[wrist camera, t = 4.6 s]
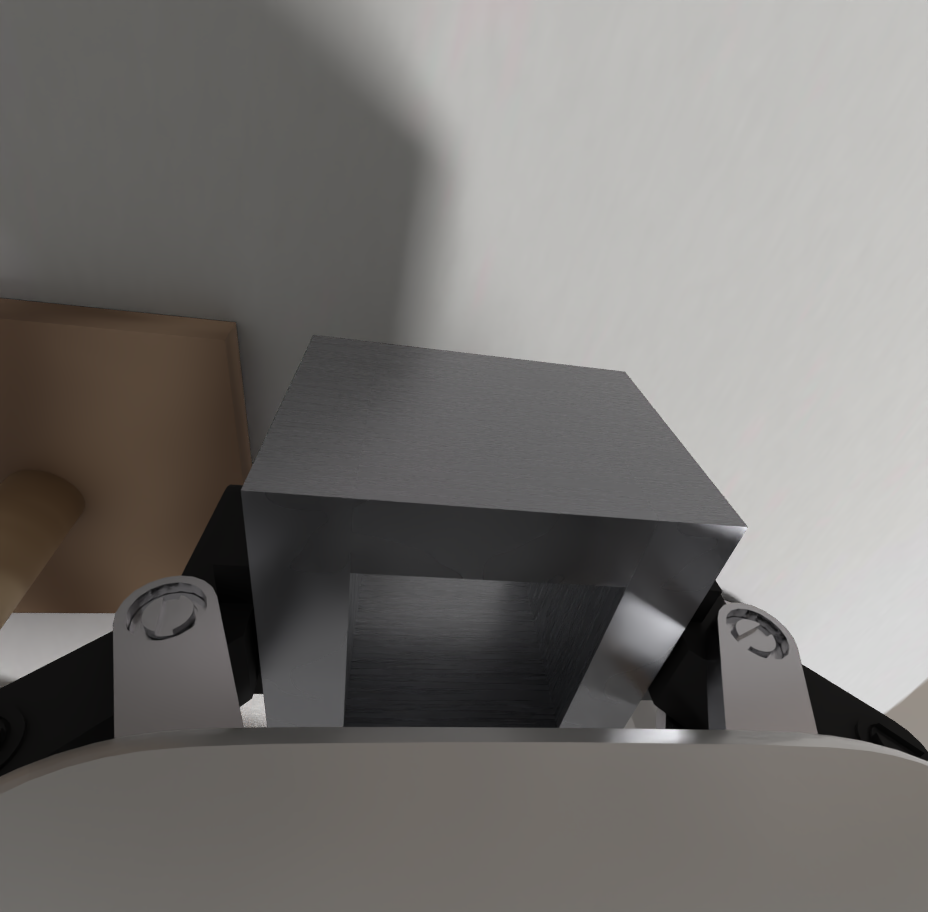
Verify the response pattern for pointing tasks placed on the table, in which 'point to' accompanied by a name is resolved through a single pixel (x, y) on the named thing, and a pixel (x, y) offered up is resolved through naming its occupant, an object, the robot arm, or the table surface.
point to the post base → (110, 449)
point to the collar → (471, 542)
